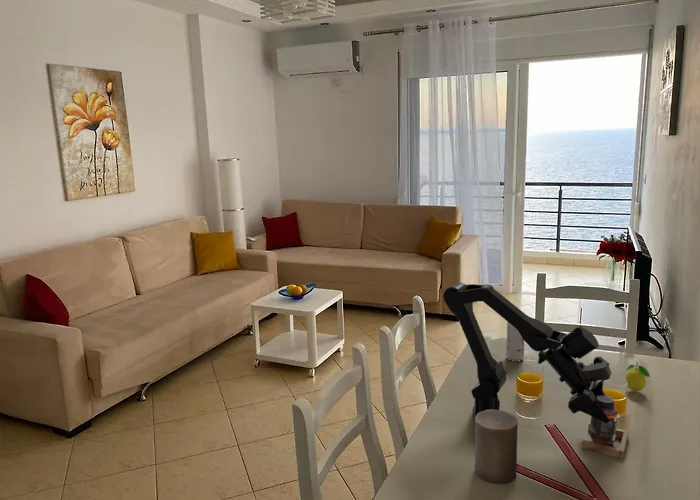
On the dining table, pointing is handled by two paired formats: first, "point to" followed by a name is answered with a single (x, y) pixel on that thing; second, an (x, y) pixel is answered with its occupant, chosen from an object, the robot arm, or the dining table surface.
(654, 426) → the dining table surface
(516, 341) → the energy drink can
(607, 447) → the bay
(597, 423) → the supplement bottle
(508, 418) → the pillar candle
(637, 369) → the lemon
